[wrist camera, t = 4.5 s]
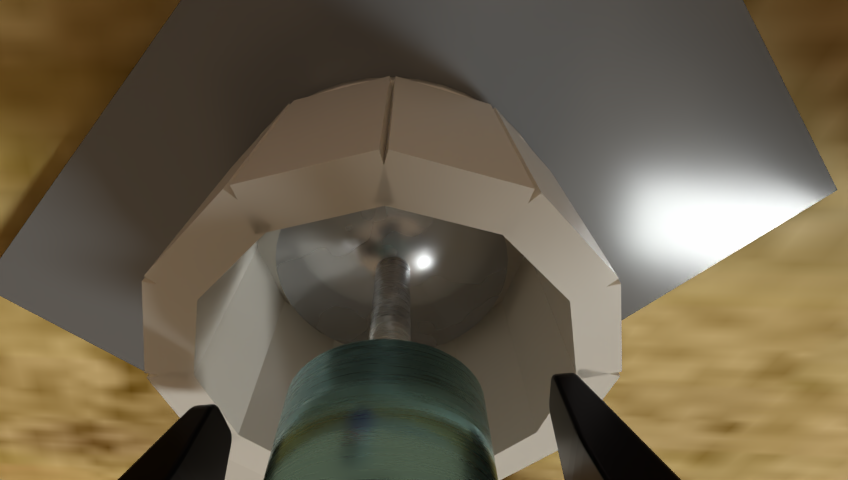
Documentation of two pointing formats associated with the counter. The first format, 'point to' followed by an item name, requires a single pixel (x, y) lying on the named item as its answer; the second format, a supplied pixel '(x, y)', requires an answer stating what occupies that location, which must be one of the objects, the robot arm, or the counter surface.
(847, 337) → the counter surface
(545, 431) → the thick white ring cup
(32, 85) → the counter surface
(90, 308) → the plate
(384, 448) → the wine glass
